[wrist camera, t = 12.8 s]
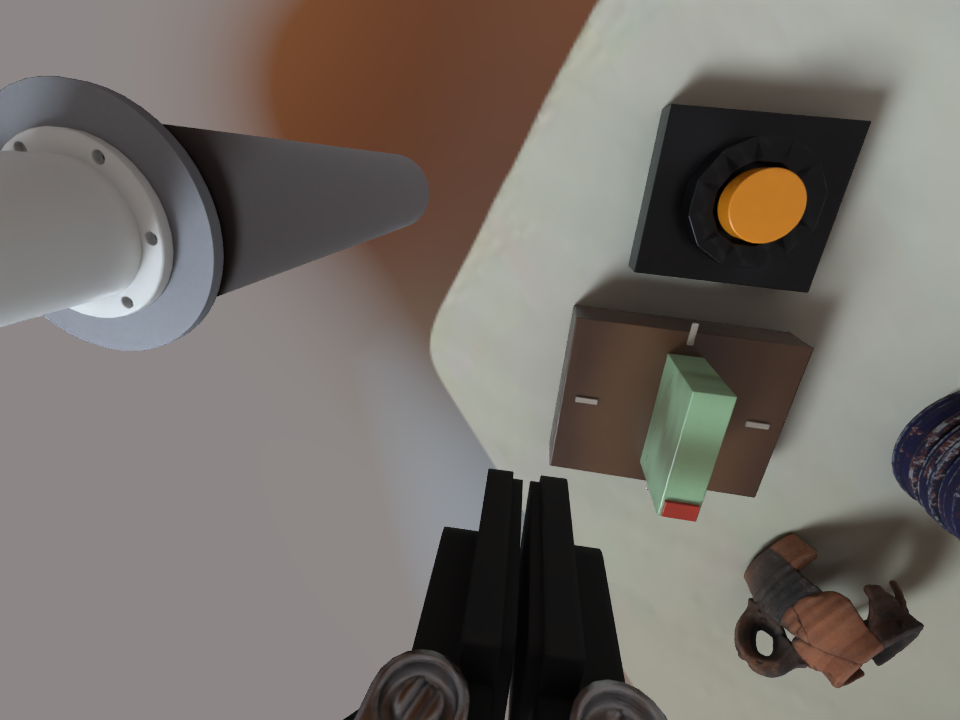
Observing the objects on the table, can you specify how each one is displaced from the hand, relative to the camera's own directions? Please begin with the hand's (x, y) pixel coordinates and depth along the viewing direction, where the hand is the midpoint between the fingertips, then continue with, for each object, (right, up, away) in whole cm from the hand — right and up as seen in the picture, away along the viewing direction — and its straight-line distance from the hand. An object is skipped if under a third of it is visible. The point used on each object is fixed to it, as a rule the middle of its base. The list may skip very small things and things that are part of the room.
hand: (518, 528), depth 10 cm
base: (+12, +1, +23) cm, 26 cm away
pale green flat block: (+11, 0, +20) cm, 23 cm away
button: (+14, +12, +15) cm, 23 cm away
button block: (+14, +13, +18) cm, 26 cm away
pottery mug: (+24, -14, +28) cm, 39 cm away
